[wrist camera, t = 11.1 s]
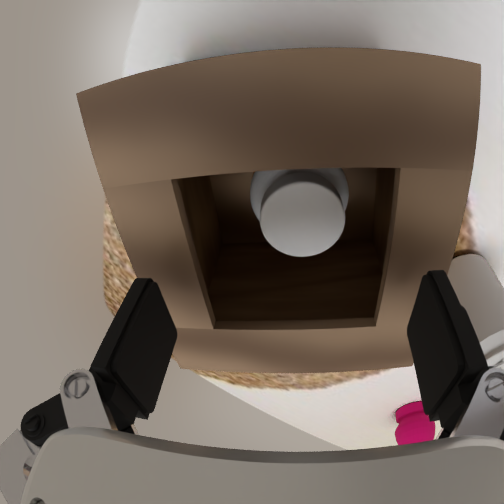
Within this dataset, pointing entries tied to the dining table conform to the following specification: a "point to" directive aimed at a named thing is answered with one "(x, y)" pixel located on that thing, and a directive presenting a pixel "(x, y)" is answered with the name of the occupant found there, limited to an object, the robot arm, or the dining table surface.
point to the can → (481, 303)
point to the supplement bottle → (300, 208)
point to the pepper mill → (413, 424)
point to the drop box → (285, 158)
